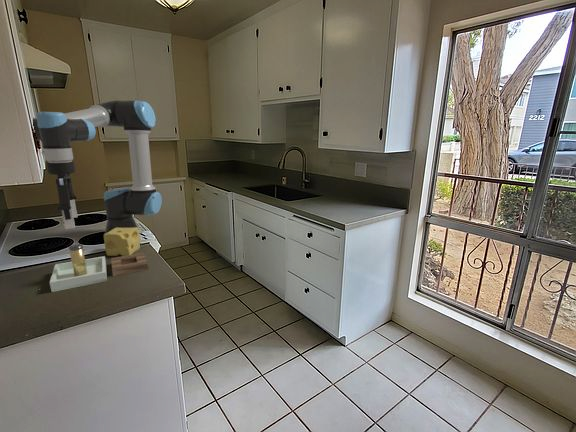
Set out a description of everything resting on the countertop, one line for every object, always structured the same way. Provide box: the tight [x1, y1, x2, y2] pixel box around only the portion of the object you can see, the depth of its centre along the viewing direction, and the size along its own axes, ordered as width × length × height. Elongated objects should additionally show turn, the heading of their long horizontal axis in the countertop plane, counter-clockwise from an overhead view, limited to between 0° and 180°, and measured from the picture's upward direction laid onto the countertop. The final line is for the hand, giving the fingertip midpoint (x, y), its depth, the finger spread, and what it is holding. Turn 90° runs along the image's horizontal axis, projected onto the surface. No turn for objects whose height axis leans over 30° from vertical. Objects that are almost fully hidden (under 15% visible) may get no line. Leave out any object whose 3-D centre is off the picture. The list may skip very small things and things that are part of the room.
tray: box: [49, 255, 108, 293], centre depth 112 cm, size 16×16×4 cm
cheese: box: [103, 226, 141, 257], centre depth 134 cm, size 10×11×10 cm
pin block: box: [110, 252, 149, 277], centre depth 120 cm, size 12×12×2 cm
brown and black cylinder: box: [68, 243, 87, 276], centre depth 110 cm, size 4×4×11 cm
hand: (71, 222), depth 106 cm, fingers open, 13 cm apart
